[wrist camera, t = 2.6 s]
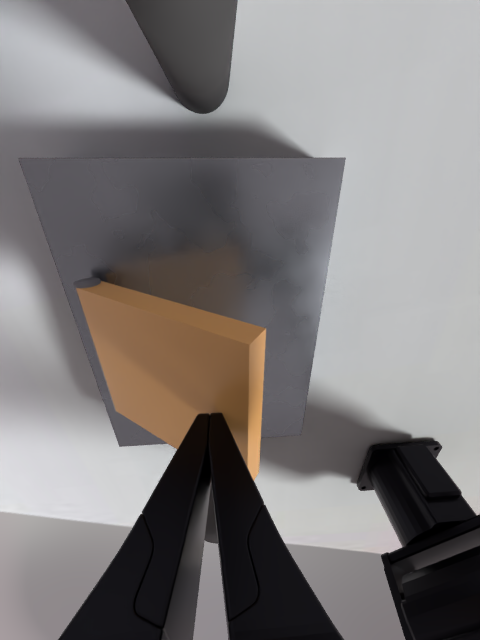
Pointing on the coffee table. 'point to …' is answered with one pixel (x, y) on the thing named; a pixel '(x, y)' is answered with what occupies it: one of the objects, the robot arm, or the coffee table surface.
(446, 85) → the coffee table surface
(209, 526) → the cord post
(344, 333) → the coffee table surface
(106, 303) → the orange flat block
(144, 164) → the grey flat block
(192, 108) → the post
